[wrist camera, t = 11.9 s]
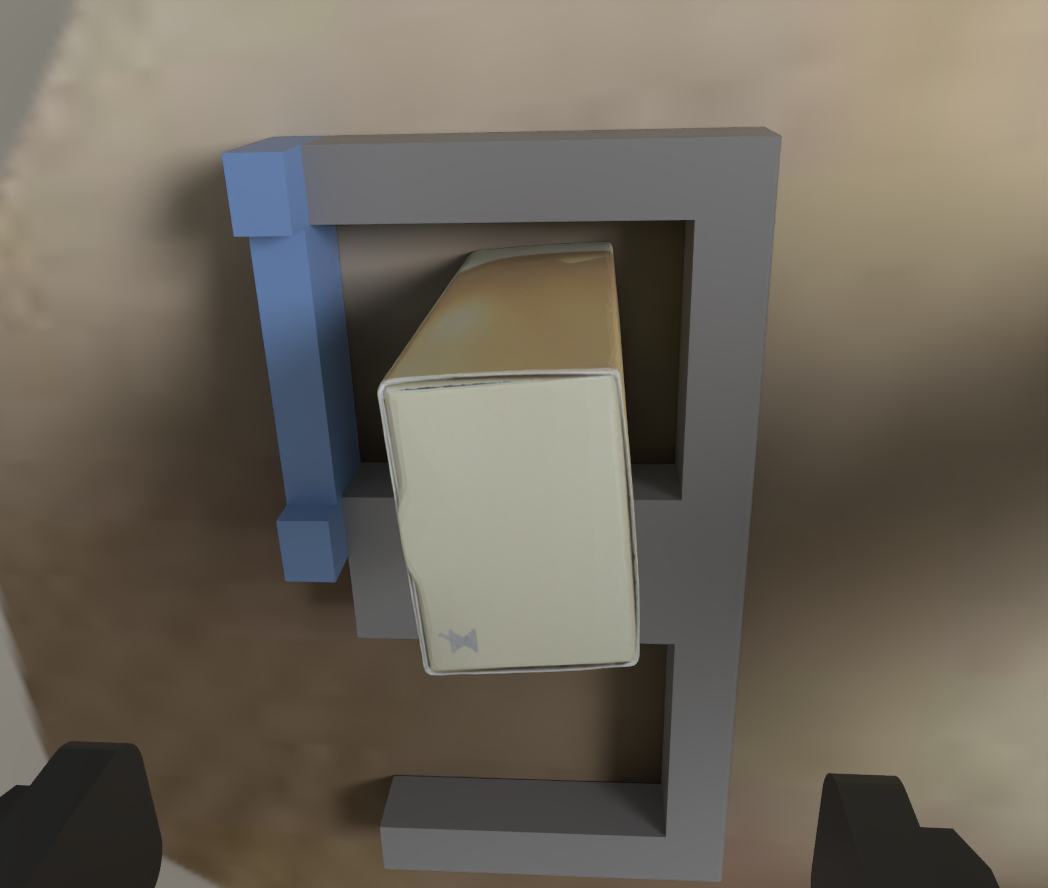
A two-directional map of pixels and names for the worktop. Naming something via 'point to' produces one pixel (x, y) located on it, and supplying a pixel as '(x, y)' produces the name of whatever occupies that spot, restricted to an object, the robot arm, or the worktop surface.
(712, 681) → the rail
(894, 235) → the worktop surface
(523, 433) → the skincare box
